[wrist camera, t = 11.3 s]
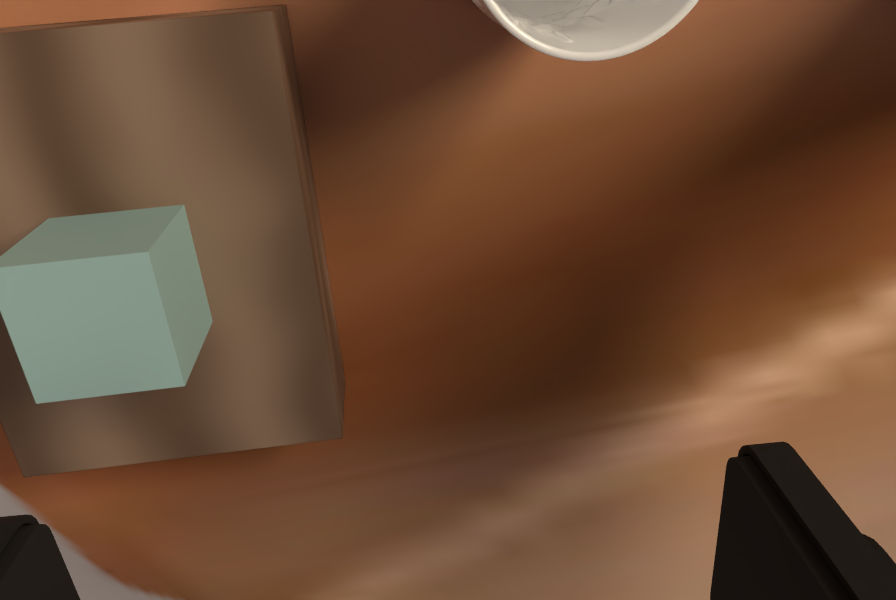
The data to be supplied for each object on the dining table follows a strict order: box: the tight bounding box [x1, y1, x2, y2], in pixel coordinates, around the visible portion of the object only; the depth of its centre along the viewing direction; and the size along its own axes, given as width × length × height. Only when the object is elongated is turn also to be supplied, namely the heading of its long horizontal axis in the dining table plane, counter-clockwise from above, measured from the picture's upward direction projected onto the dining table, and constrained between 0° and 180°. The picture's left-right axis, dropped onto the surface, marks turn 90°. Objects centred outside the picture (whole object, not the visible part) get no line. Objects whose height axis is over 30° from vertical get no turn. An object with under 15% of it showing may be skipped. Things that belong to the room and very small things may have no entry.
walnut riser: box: [0, 5, 345, 477], centre depth 30 cm, size 14×18×5 cm
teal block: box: [0, 205, 213, 404], centre depth 25 cm, size 5×5×5 cm
